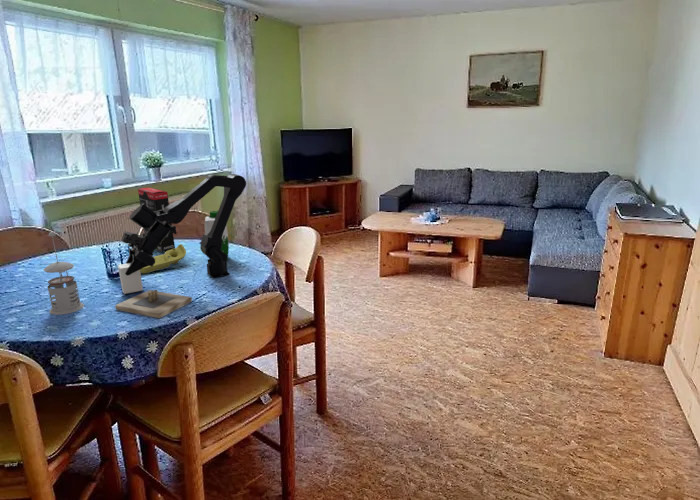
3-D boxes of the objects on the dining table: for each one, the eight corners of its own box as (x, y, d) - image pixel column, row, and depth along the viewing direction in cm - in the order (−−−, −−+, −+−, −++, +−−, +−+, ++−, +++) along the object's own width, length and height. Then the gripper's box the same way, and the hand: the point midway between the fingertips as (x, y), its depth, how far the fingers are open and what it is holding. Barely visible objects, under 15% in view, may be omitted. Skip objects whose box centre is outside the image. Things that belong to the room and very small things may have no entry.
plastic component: (138, 269, 178) (130, 253, 183) (140, 283, 182) (132, 267, 188) (189, 256, 189) (180, 241, 194) (190, 269, 193) (180, 254, 199)
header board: (150, 294, 159) (148, 281, 158) (191, 301, 152) (190, 288, 151) (115, 309, 147) (113, 295, 145) (159, 318, 140) (157, 303, 138)
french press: (46, 316, 142) (29, 237, 135) (52, 303, 152) (36, 229, 145) (82, 311, 146) (68, 233, 139) (86, 298, 156) (72, 225, 149)
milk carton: (229, 255, 201) (225, 210, 195) (229, 262, 192) (225, 214, 187) (208, 257, 199) (203, 211, 193) (207, 263, 191) (202, 215, 185)
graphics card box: (176, 250, 211) (169, 190, 203) (161, 253, 206) (153, 192, 198) (159, 243, 222) (151, 186, 214) (144, 246, 217) (136, 188, 210)
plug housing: (140, 286, 165) (136, 261, 163) (143, 290, 161) (139, 265, 159) (122, 289, 162) (117, 264, 160) (124, 293, 158) (119, 268, 156)
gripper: (130, 217, 165) (100, 253, 162) (139, 227, 150) (106, 267, 147) (157, 236, 171) (128, 270, 168) (168, 247, 156) (137, 285, 153)
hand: (125, 272), depth 159 cm, fingers closed on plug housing, 5 cm apart
